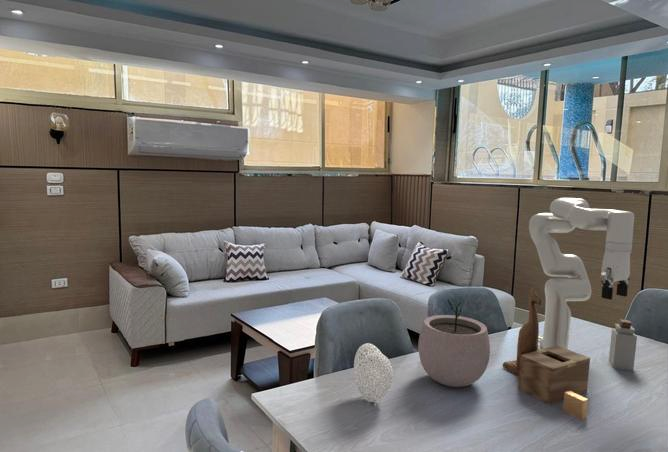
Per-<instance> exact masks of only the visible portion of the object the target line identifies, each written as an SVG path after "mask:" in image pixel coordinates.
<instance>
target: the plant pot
mask: <svg viewBox="0 0 668 452" xmlns="http://www.w3.org/2000/svg"><path fill="white" fill-rule="evenodd" d="M461 300H462V299H461ZM461 300H459V302H458V304H457V305H455V309H454V307H452V304H451V302H450V301H449V299H447V302H448V304H449V306H450V309H451V311H453V312H454V313H455V314H453V315H452V314H438V315H437V314H436V315H432V316H428V317H426V318H425V319H424V321H423V323H422V326H421V329H420V333H419V337H418V345H417V347H418V348H417V349H418V356H419V359H420V364H421V366H422V367H423V370H424V371H425V373H426V374H427V375H428V376H429V377H430V378H431V379H433V380H434V381H436V382H437V383H438V384H442V385H443V386H447V387H451V388H453V387H455V388H461V387H466V386H470V385H472V384H473V383H475V382H477V381H478V380H480V379H481V377H482V376H483V375H484V373H485V372H486V370H487V368H488V365H489V361H490V354H491V345H490V336H489V332H488V328H487V326H486V324H484V323H483V322H481V321H479V320H476V319H474V318H470V317H465V316H461V315H460V314H461V312H462V307H460V309H459V306H461V304H462V302H461ZM458 310H459V312H458Z"/></svg>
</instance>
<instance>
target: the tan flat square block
mask: <svg viewBox="0 0 668 452" xmlns="http://www.w3.org/2000/svg"><path fill="white" fill-rule="evenodd" d="M588 406H589V399H588V398H587V397H584V396H583V395H581V394H579V395H578V394H576V393H574V392H571V391H567V392H564V400H563V404H562V411H563V412H565V413H567V414H569V415H571V416H572V417H575V418H577V419H579V420H581V421H582V420H585V419H587V416H588Z"/></svg>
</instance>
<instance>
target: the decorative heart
mask: <svg viewBox="0 0 668 452" xmlns="http://www.w3.org/2000/svg"><path fill="white" fill-rule="evenodd" d="M393 371H394V370H393V366H392V364H391V361H390V360H389V358H388V357H387V356H386V355H384V354H383V353H382V351H381V350H380V349H379V348H378V347H377V346H376V345H374V344H372V343H370V342H367V343H363V344H362V345H360V346H359V348H357V350H356V353H355V356H354V361H353V372H354V373H353V374H354V380H355V384H356V387H357V390H358V392H359V393H360V395H361V397H362V398H363V399H364V400H365V401H366V402H369V403H374V405H373V406H374V407H376V404H377V403H376V401H378V409H379V410H380V409H381V399H383V397H384V396H386V395H387V393H388V392H389V390H390V388H391V385H392V382H393V378H394V377H393V376H394V373H393Z"/></svg>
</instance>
